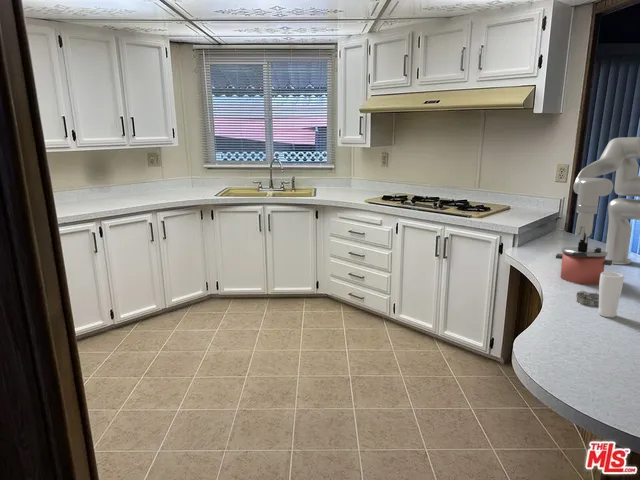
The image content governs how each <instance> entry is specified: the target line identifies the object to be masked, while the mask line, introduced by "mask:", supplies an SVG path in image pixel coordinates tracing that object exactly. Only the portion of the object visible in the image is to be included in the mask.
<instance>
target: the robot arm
mask: <svg viewBox="0 0 640 480" xmlns="http://www.w3.org/2000/svg"><path fill="white" fill-rule="evenodd" d="M636 159H640V136H638V137H637V136H630V137H629V136H628V137H626V136H625V137H623V136H622V137H615V138H613V139H610V140H609V142H608V143H607V145H606V146H605V148H604V150H603V152H602V153H601V155H600V157H599V159H597V160H596V161H593V162H591V163H589V164H588V165H586V166H585V167H583V168H582V169H581V170H580V172H578V174H577V176H576V177H575V181H574V183H573V186H572V187H573V192H574V193H575V194H577V201H576V213H578V214H577V218H576V224H575V225H576V226H575V231H574V236H575V237H577V236H579V238H578V246H577V247H578V252H587V248H589V245H588V244H589V237H590V235H592V232H593V226H594V217H595V215H597V214H598V208H599V200H600V197H607V196H608V195H610V194H611V193H612V191H613V190H614V193H615V194H616V195H618V196H626V197H638V198H640V175H638V173H639V167H640V166H639V163H638V161H637V160H636ZM613 172H615V180H614V183H613V182H612V180H611V179H608V178H607V177H606V178H605V177H600V176H604V175H607V174H611V173H613ZM607 209H608V210H607V211H608V225H607V226H608V227H607V233H606V234H607V235H606V236H607V237H606V243H605V249H604V251H605V252H607V256H606V257H605V260H612V264H611V265H619V266H620V265H622V266H624V265H630V264H631V263H632V260H631V259H629V251H630V243H631V236H632V234H631V233H632V230H633V228H632V224H631V223H630V221H629V220H635V221H636V220H637V221H640V199H637V198H636V199H635V198H634V199H633V198H620V197H619V198H614V199H612V200H611V201H610V202H608V206H607Z"/></svg>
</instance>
